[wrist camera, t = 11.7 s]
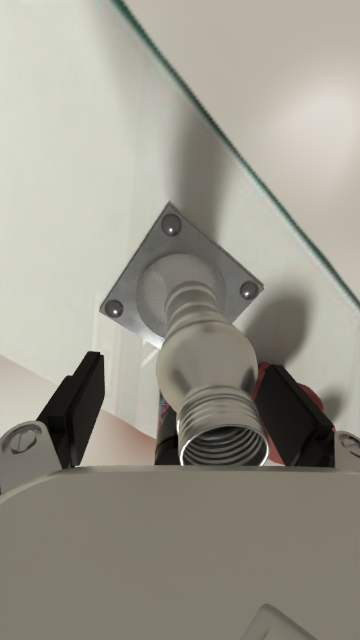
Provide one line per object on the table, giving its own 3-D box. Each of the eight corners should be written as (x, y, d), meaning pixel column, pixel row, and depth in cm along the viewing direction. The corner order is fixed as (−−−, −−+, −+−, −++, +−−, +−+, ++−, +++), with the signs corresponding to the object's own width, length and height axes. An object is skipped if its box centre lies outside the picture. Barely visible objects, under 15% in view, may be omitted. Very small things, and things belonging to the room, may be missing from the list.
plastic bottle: (155, 310, 26) (112, 477, 8) (182, 266, 24) (206, 358, 6) (195, 332, 28) (235, 517, 10) (224, 292, 26) (347, 433, 7)
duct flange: (99, 310, 27) (97, 312, 26) (168, 205, 23) (168, 203, 22) (189, 366, 32) (190, 370, 31) (263, 287, 27) (266, 289, 26)
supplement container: (176, 379, 32) (178, 439, 23) (205, 399, 34) (218, 462, 25) (150, 403, 34) (143, 468, 25) (179, 421, 36) (183, 487, 27)
